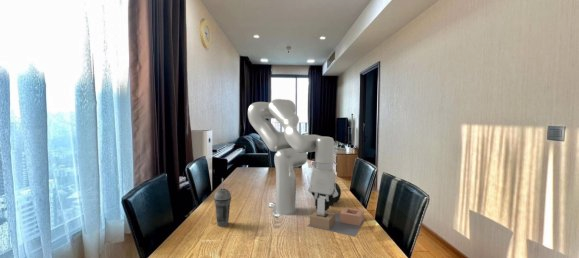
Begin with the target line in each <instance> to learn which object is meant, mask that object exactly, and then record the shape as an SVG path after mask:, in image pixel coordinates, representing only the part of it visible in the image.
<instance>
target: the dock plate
mask: <svg viewBox="0 0 579 258" xmlns="http://www.w3.org/2000/svg"><path fill="white" fill-rule="evenodd" d="M364 211H365V210H364V209H358V208H354V207H353V208H350V207H346V206H345V207H344V208H343V209H342V210H341V212H340V213H335V212H332V211H331V212H330V211H327V217H326V218H325V217H320V216H317V210H315V212H313V213H312V214H311V215H309V223H308V225H307V227H309V228H314V229H319V230H323V231H327V232H328V231H329V232H332V233H336V234H342V235H346V236H351V237H356V236H357V234H358V232H359V231H360V230H361V227H362V226H363V224H364V223H365V221H366V218H364V216H365V212H364Z"/></svg>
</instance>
